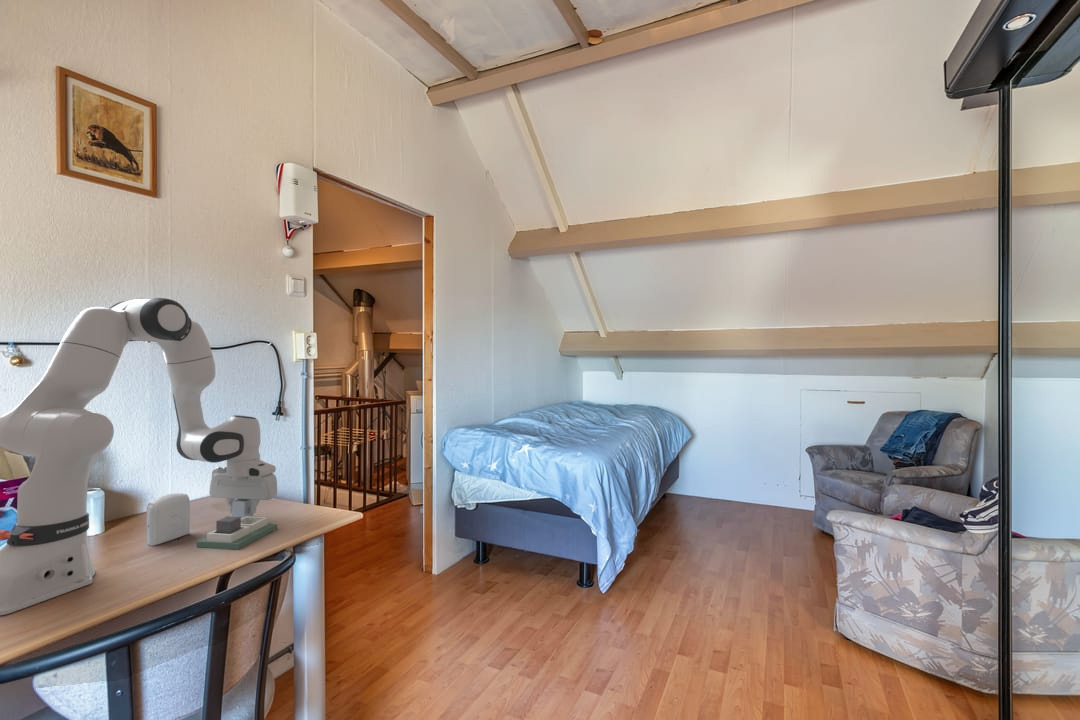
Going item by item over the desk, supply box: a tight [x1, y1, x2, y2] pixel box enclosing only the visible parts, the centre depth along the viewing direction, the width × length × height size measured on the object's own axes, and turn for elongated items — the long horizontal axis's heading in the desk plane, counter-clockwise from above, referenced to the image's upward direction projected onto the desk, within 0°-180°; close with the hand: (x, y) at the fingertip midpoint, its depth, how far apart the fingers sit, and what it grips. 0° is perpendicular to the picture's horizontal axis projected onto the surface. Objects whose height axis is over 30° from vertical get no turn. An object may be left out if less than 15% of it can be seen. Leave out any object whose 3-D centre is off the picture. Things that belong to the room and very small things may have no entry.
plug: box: [231, 499, 254, 518], centre depth 151 cm, size 4×4×8 cm
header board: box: [196, 515, 278, 551], centre depth 138 cm, size 16×12×6 cm
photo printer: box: [146, 492, 191, 547], centre depth 136 cm, size 10×4×12 cm, turn 162°
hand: (242, 512), depth 151 cm, fingers open, 5 cm apart
